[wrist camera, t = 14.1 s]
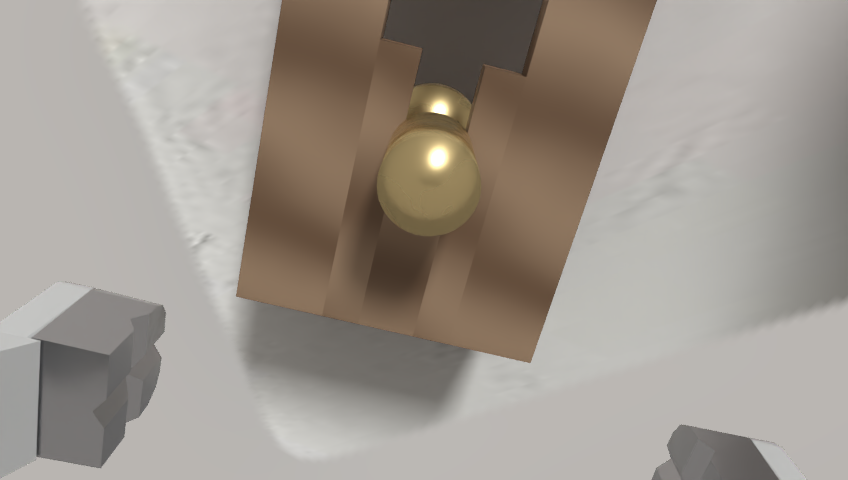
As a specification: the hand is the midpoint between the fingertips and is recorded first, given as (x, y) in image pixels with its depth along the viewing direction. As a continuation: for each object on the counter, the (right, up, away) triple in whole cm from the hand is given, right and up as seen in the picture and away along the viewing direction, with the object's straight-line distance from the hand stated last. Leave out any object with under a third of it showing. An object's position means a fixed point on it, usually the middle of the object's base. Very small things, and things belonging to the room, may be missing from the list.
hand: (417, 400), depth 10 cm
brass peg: (0, +8, +21) cm, 23 cm away
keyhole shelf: (+1, +13, +25) cm, 28 cm away
